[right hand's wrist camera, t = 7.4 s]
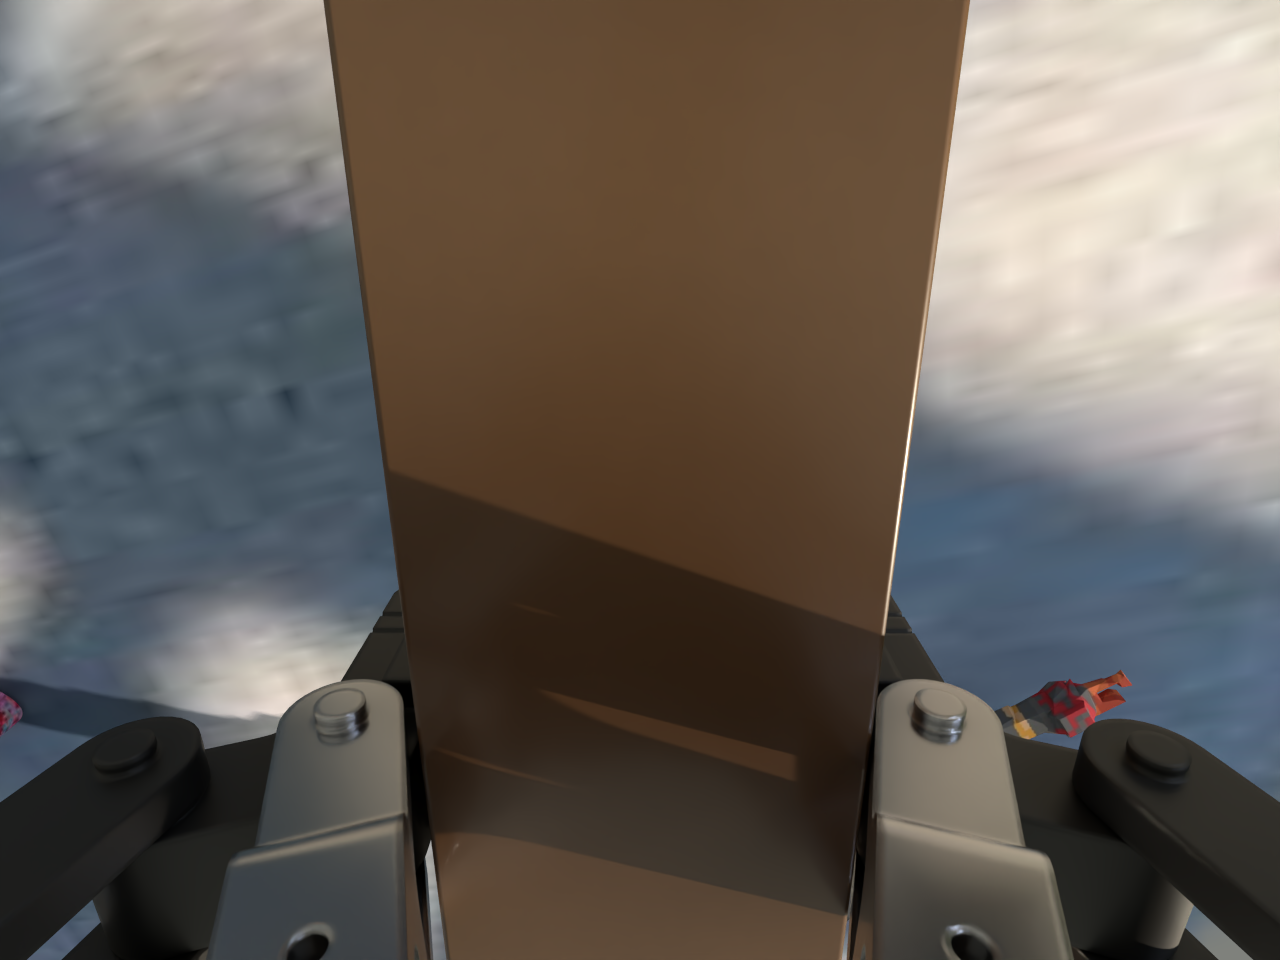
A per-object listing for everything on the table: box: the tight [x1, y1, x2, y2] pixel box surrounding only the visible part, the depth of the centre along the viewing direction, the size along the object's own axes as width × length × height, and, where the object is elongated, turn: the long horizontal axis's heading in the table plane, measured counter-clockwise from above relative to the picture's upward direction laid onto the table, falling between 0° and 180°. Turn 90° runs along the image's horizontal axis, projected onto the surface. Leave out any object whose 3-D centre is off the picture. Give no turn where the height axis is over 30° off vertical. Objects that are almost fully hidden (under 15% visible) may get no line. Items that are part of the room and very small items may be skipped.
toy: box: [847, 670, 1132, 921], centre depth 31 cm, size 13×27×18 cm, turn 125°
